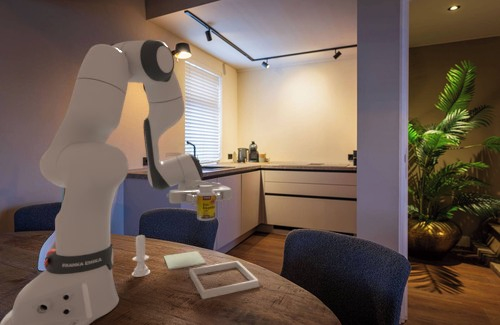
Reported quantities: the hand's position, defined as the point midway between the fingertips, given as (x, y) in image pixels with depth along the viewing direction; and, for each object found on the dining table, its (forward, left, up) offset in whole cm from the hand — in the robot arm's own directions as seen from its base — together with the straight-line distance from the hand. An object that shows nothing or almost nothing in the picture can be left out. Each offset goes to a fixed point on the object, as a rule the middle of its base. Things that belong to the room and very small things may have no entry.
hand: (206, 198), depth 84 cm
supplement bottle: (0, +1, -7) cm, 7 cm away
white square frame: (+3, -6, -23) cm, 24 cm away
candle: (-18, +9, -23) cm, 31 cm away
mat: (-4, +14, -23) cm, 27 cm away
